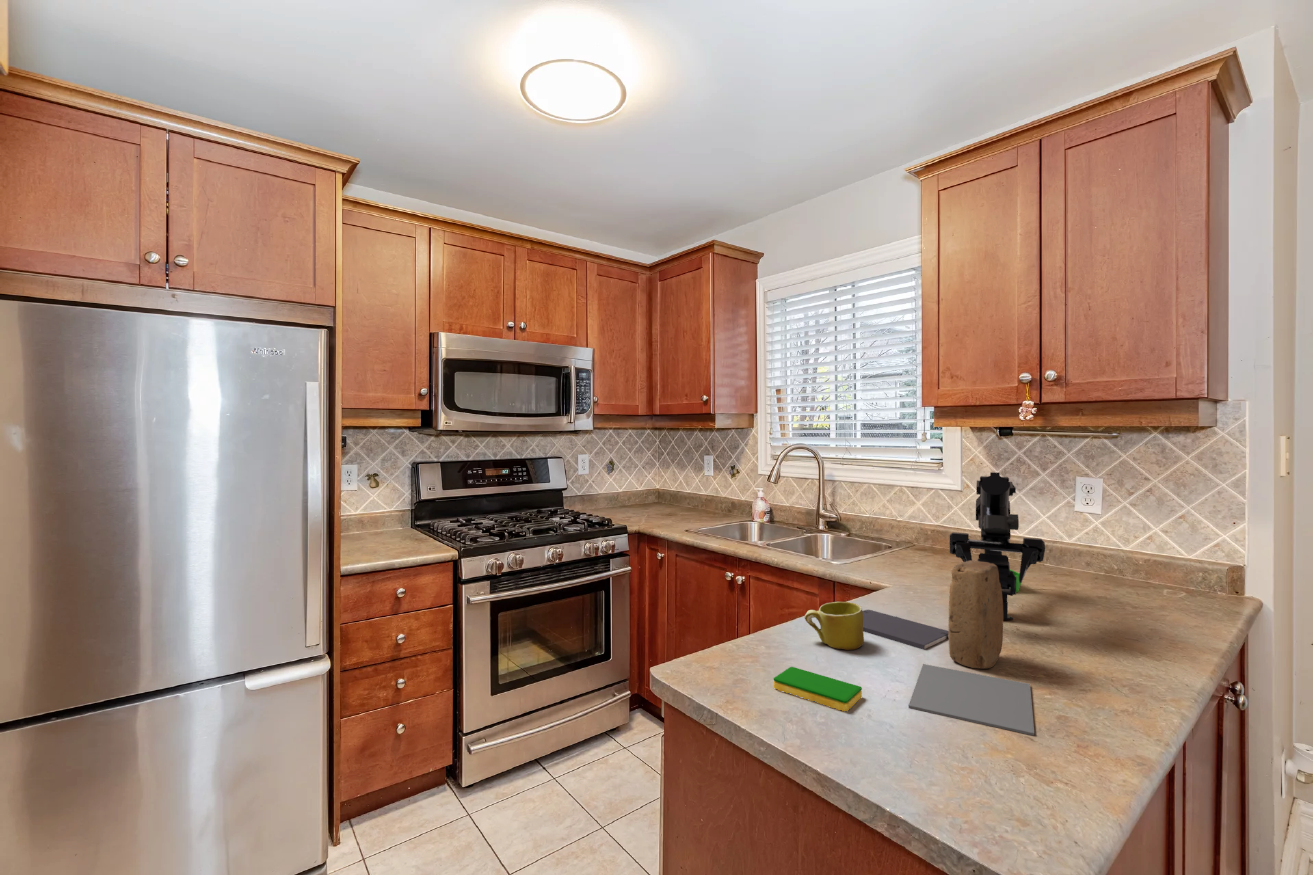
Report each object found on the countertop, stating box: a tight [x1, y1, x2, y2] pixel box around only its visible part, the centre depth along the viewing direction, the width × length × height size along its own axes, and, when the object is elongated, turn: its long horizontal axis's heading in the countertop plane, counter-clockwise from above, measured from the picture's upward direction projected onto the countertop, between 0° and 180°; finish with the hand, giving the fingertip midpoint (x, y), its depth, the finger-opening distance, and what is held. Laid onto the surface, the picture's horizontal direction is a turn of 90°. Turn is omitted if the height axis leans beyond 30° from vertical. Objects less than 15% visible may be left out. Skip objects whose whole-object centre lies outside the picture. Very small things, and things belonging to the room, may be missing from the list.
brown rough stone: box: [948, 559, 1004, 670], centre depth 120 cm, size 11×8×20 cm
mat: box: [908, 663, 1035, 737], centre depth 105 cm, size 20×18×1 cm
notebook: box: [862, 609, 949, 651], centre depth 138 cm, size 13×2×21 cm
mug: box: [804, 601, 865, 651], centre depth 130 cm, size 12×10×10 cm
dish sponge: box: [773, 666, 863, 712], centre depth 106 cm, size 7×14×2 cm, turn 50°
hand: (996, 579), depth 131 cm, fingers open, 9 cm apart
